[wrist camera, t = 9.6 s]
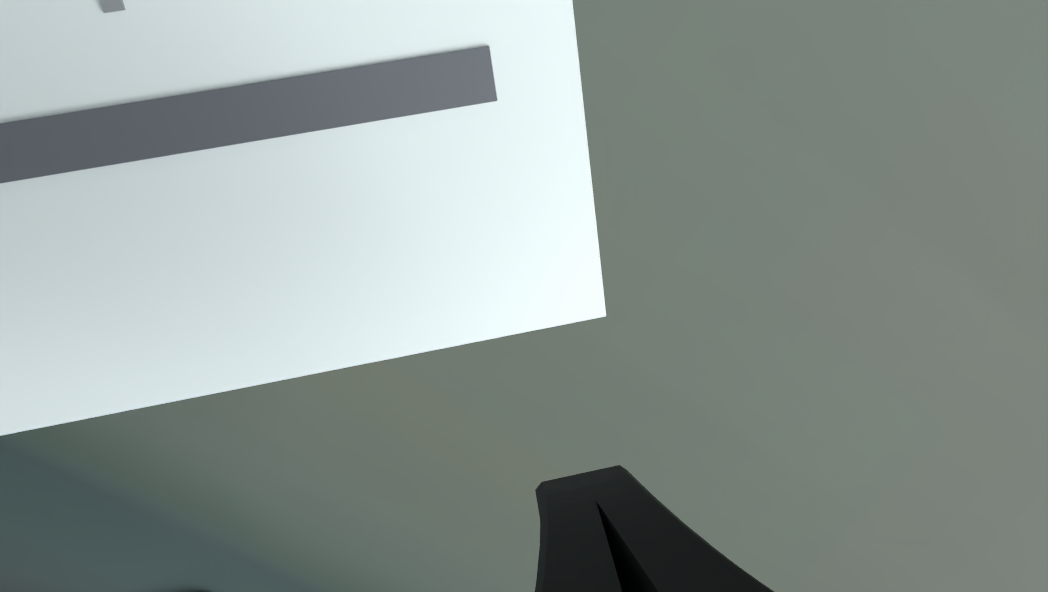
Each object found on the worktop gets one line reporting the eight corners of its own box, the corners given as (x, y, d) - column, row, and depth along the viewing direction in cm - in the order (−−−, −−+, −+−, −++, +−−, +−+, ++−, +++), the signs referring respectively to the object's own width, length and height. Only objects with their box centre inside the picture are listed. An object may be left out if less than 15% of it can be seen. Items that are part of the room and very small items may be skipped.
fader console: (588, 289, 21) (607, 317, 20) (-280, 456, 19) (-355, 507, 17) (525, -251, 17) (542, -286, 15) (-650, -110, 14) (-814, -128, 12)
